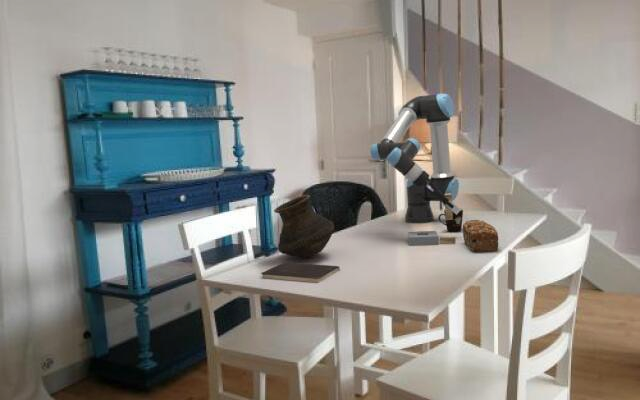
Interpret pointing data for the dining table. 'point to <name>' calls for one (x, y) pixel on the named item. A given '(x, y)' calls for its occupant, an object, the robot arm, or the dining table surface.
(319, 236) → the ceramic pot
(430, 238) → the socket block
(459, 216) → the coffee mug
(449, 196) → the long oak peg
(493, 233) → the bread
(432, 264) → the dining table surface
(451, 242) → the short oak peg
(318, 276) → the hardcover book
